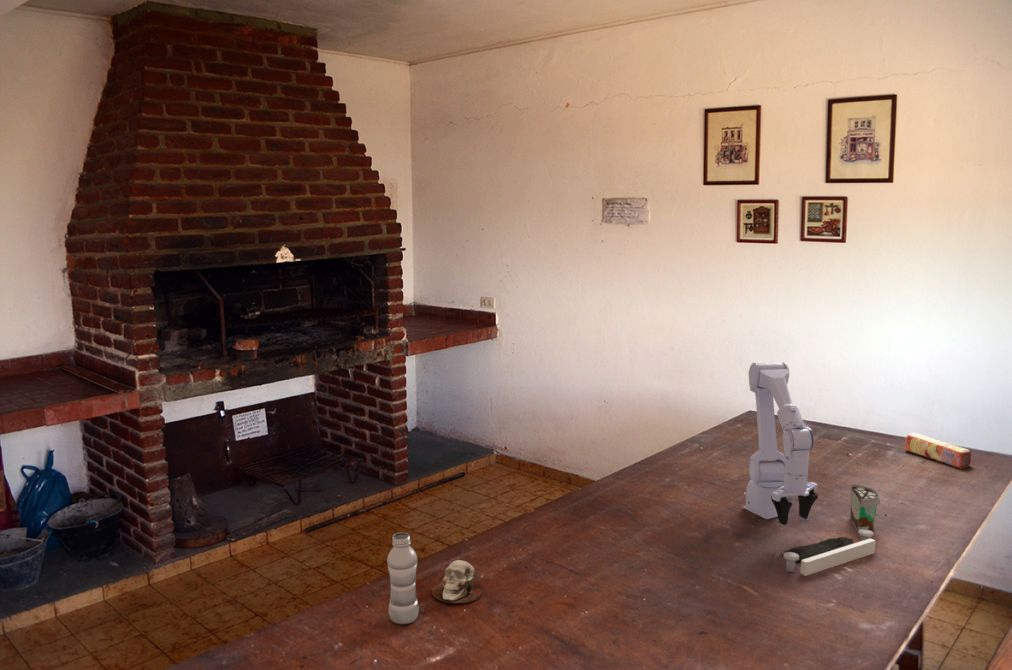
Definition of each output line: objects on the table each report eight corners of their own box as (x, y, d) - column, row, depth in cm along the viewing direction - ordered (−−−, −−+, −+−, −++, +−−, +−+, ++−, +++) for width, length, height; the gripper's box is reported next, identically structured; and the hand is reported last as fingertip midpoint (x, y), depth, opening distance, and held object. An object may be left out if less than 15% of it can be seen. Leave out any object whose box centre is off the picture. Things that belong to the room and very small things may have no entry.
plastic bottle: (389, 613, 178) (386, 530, 174) (419, 611, 178) (416, 529, 174) (388, 629, 171) (384, 543, 167) (419, 627, 172) (416, 541, 168)
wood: (799, 569, 196) (799, 558, 195) (779, 556, 203) (779, 545, 202) (867, 554, 204) (868, 543, 203) (846, 542, 210) (847, 531, 210)
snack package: (972, 467, 263) (974, 447, 262) (959, 470, 261) (961, 451, 259) (914, 448, 282) (916, 430, 281) (902, 451, 279) (904, 433, 278)
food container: (883, 536, 213) (886, 501, 211) (858, 534, 214) (861, 499, 212) (871, 517, 224) (874, 484, 223) (848, 516, 226) (851, 483, 224)
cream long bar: (779, 569, 195) (780, 554, 195) (863, 542, 209) (864, 528, 208) (797, 578, 191) (797, 563, 190) (881, 550, 204) (883, 536, 204)
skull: (470, 608, 178) (442, 570, 179) (443, 627, 183) (416, 590, 184) (495, 582, 188) (469, 547, 189) (469, 601, 193) (444, 567, 195)
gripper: (787, 482, 201) (784, 532, 204) (827, 472, 207) (824, 520, 210) (767, 473, 207) (764, 521, 210) (806, 464, 214) (803, 510, 216)
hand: (793, 520), depth 210 cm, fingers open, 7 cm apart
